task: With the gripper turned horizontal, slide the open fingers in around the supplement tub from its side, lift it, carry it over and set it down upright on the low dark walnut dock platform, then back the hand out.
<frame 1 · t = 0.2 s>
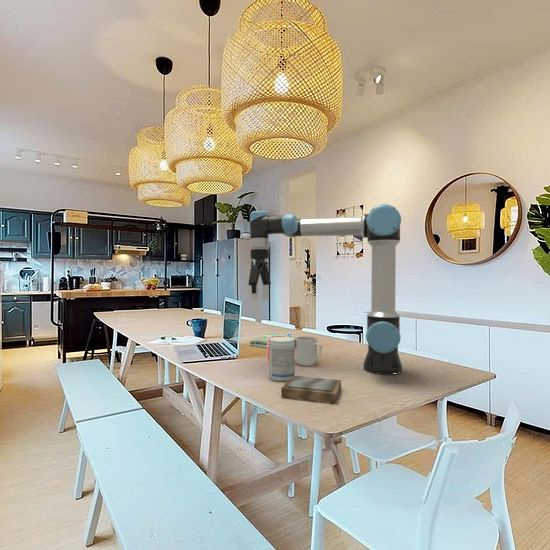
hand: (260, 301, 152), 27 cm above the table, tool pointing down, fingers open, 13 cm apart
mug: (309, 365, 158), on the table
supplement tub: (281, 378, 138), on the table
dock: (312, 393, 121), on the table
towel: (275, 346, 198), on the table
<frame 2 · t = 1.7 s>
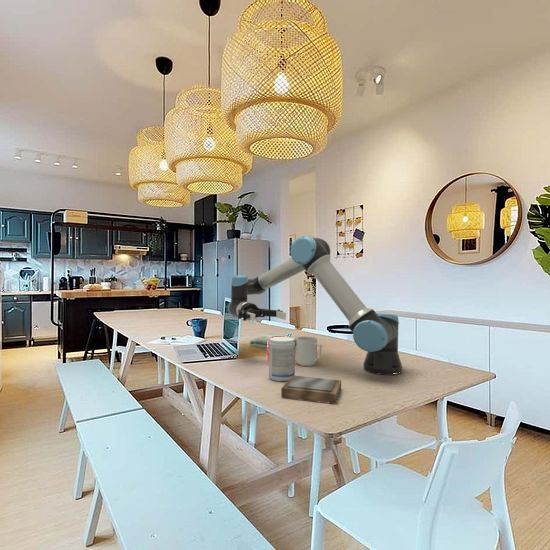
hand: (270, 316, 146), 22 cm above the table, tool horizontal, fingers open, 13 cm apart
nothing on the table moved.
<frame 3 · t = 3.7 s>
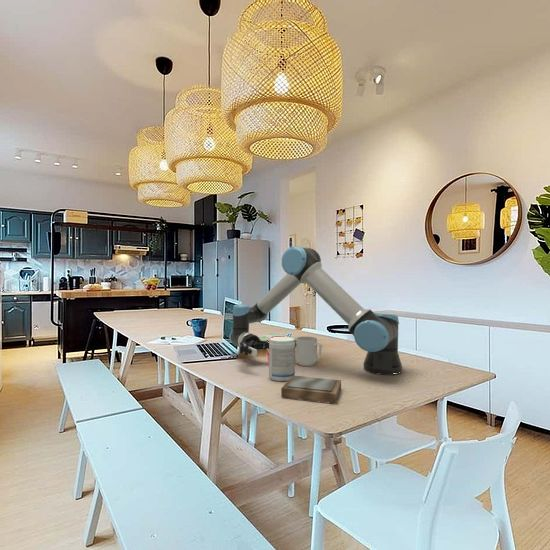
hand: (272, 351, 144), 8 cm above the table, tool horizontal, fingers open, 13 cm apart
nothing on the table moved.
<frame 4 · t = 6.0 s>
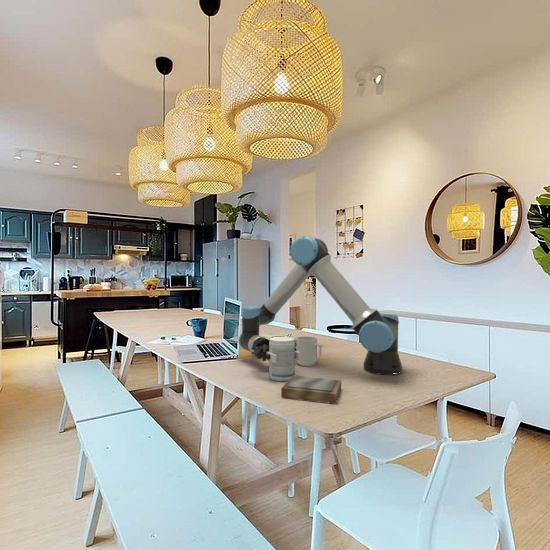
hand: (288, 357, 134), 9 cm above the table, tool horizontal, fingers closed on supplement tub, 9 cm apart
supplement tub: (281, 378, 138), on the table, touching gripper
everything else where it was.
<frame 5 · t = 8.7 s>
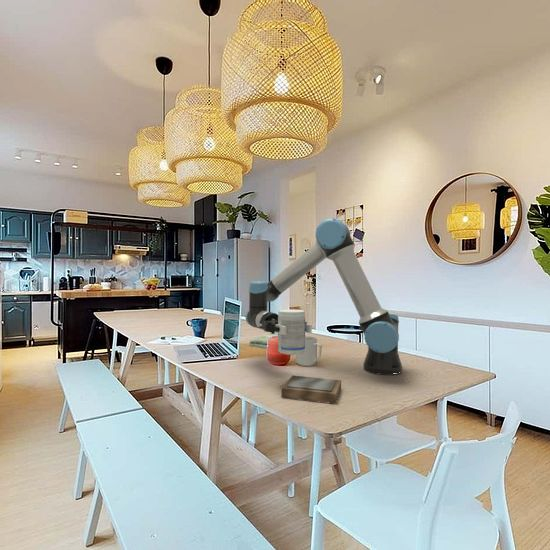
hand: (298, 330, 126), 20 cm above the table, tool horizontal, fingers closed on supplement tub, 9 cm apart
supplement tub: (291, 352, 130), point 11 cm above the table, touching gripper
everything else where it was.
when the fingers open (13 cm above the table, at t = 11.6 s): supplement tub drops 1 cm, resting on dock.
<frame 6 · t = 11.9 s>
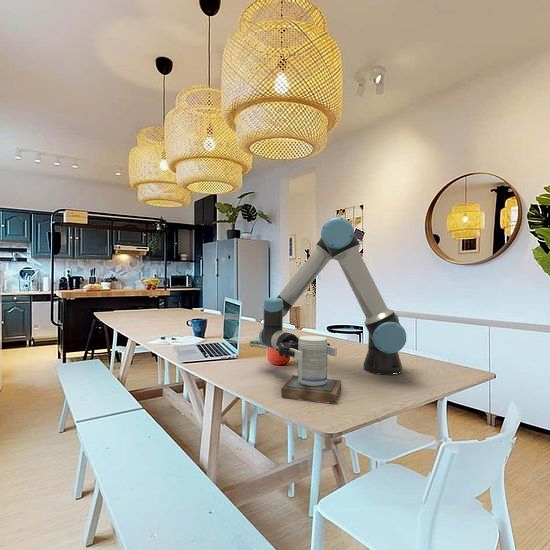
hand: (319, 354, 118), 13 cm above the table, tool horizontal, fingers open, 13 cm apart
supplement tub: (312, 383, 121), point 3 cm above the table, touching dock
everything else where it was.
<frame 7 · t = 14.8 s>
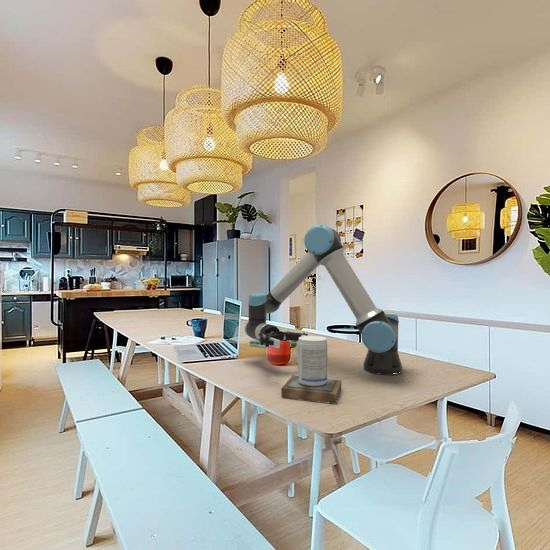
hand: (296, 342, 131), 15 cm above the table, tool horizontal, fingers open, 13 cm apart
nothing on the table moved.
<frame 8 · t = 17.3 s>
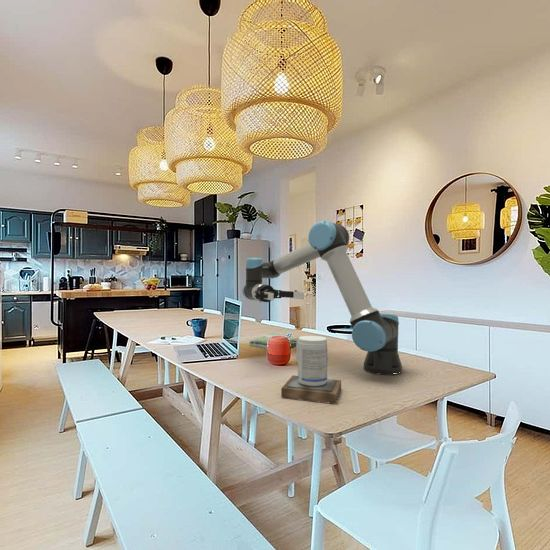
hand: (288, 296, 144), 30 cm above the table, tool horizontal, fingers open, 13 cm apart
nothing on the table moved.
at the end: supplement tub inside the target area on the dock (0.1 cm from its centre), point 3.2 cm above the dock's base; supplement tub tilted 0°; the gripper is holding nothing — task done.
